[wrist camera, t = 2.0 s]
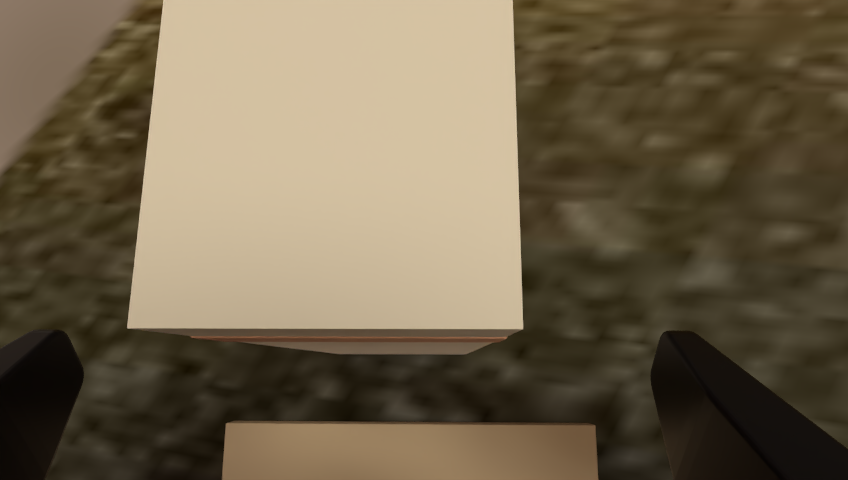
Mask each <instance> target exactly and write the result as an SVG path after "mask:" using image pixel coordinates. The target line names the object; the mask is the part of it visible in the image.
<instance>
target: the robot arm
mask: <svg viewBox="0 0 848 480" xmlns="http://www.w3.org/2000/svg"><path fill="white" fill-rule="evenodd" d="M83 378H84V372H83V367H82V364H81V362H80V360H79V358H78V356H77V354H76V352H75V350H74V347H73V345H72V343H71V341H70V339H69V337H68V335H67V334H66V333H65V332H63V331H62V330H40V329H39V330H33V331H30V332H28V333H27V334H25V335H23V336H21V337H20V338H18V339H16V340H14V341H13V342H11V343H9V344H7V345H6V346H4V347H2V348H0V480H45V478H46V476H47V473H48V471H49V469H50V466H51V464H52V461H53V459H54V456H55V454H56V451H57V449H58V446H59V443H60V441H61V438H62V436H63V433H64V430H65V428H66V425H67V423H68V420H69V417H70V415H71V412H72V410H73V407H74V404H75V402H76V399H77V397H78V394H79V391H80V389H81V386H82V383H83ZM651 386H652V390H653V395H654V399H655V403H656V407H657V412H658V416H659V420H660V425H661V429H662V433H663V437H664V442H665V446H666V450H667V455H668V459H669V463H670V467H671V471H672V475H673V479H674V480H848V449H847V448H846V447H844V446H843V445H842V444H841V443H839V442H838V441H837V440H835V439H834V438H833V437H831V436H830V435H829V434H827V433H826V432H825V431H823V430H822V429H821V428H820V427H818V426H817V425H816V424H814V423H813V422H812V421H810V420H809V419H808V418H806V417H805V416H804V415H802V414H801V413H800V412H799V411H797V410H796V409H795V408H793V407H792V406H791V405H789V404H788V403H787V402H785V401H784V400H783V399H781V398H780V397H779V396H778V395H776V394H775V393H774V392H772V391H771V390H770V389H768V388H767V387H766V386H764V385H763V384H762V383H760V382H759V381H758V380H757V379H755V378H754V377H753V376H751V375H750V374H749V373H747V372H746V371H745V370H743V369H742V368H741V367H739V366H738V365H737V364H736V363H734V362H733V361H732V360H730V359H729V358H728V357H726V356H725V355H724V354H722V353H721V352H720V351H718V350H717V349H716V348H715V347H713V346H712V345H711V344H709V343H708V342H707V341H705V340H704V339H703V338H701V337H700V336H699V335H697V334H696V333H694V332H692V331H666V332H664V333H663V334H662V335H661V337H660V340H659V344H658V347H657V351H656V354H655V358H654V361H653V365H652V369H651Z"/></svg>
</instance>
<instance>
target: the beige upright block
mask: <svg viewBox="0 0 848 480" xmlns="http://www.w3.org/2000/svg"><path fill="white" fill-rule="evenodd" d="M127 328H129V329H137V330H145V331H153V332H162V333H170V334H178V335H186V336H191V338H197V339H205V340H214V341H223V342H244V343H252V344H260V345H269V346H277V347H285V348H293V349H301V350H310V351H318V352H326V353H334V354H429V355H465V354H468V353H470V352H472V351H475V350H477V349H479V348H481V347H484V346H486V345H488V344H491V343H493V342H500V341H502V340H505V339H507V336H509V335H511V334H513V333H516V332H518V331H520V330H522V329H523V308H522V276H521V245H520V214H519V183H518V152H517V121H516V90H515V59H514V28H513V0H164V1H163V10H162V19H161V28H160V37H159V46H158V55H157V64H156V73H155V82H154V91H153V100H152V109H151V118H150V127H149V136H148V145H147V154H146V163H145V172H144V181H143V190H142V199H141V208H140V217H139V226H138V235H137V244H136V253H135V262H134V271H133V280H132V289H131V298H130V307H129V316H128V325H127Z"/></svg>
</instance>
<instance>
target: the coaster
mask: <svg viewBox="0 0 848 480" xmlns="http://www.w3.org/2000/svg"><path fill="white" fill-rule="evenodd" d="M222 480H598V466H597V448H596V431H595V425H592V424H590V423H517V422H356V421H232V422H229V423H226V431H225V445H224V458H223V472H222Z"/></svg>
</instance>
